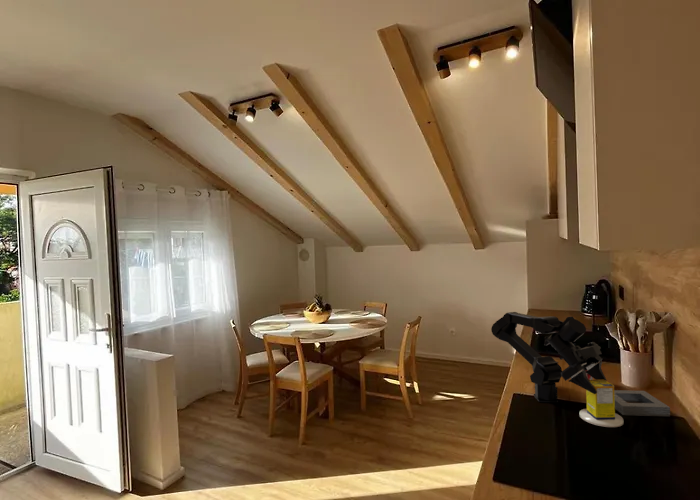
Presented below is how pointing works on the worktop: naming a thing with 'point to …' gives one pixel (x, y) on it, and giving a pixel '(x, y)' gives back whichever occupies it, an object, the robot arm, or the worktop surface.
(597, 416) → the supplement box
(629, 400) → the square hole block
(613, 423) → the coaster
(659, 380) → the worktop surface
